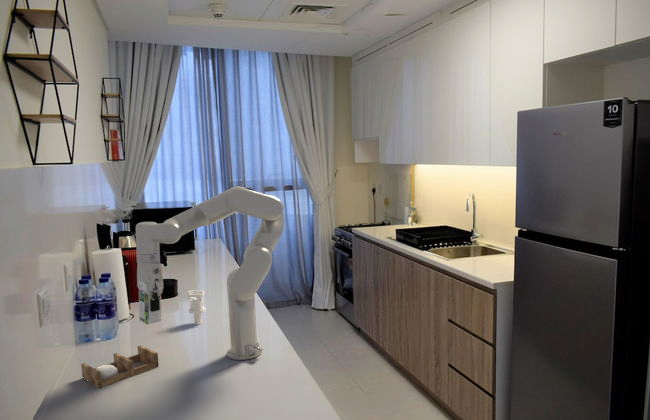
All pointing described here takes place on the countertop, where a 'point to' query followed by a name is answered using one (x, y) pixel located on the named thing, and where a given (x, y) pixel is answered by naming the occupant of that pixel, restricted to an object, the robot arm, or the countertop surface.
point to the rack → (122, 367)
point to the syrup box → (147, 306)
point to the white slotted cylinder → (196, 305)
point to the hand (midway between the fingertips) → (150, 308)
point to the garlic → (107, 371)
